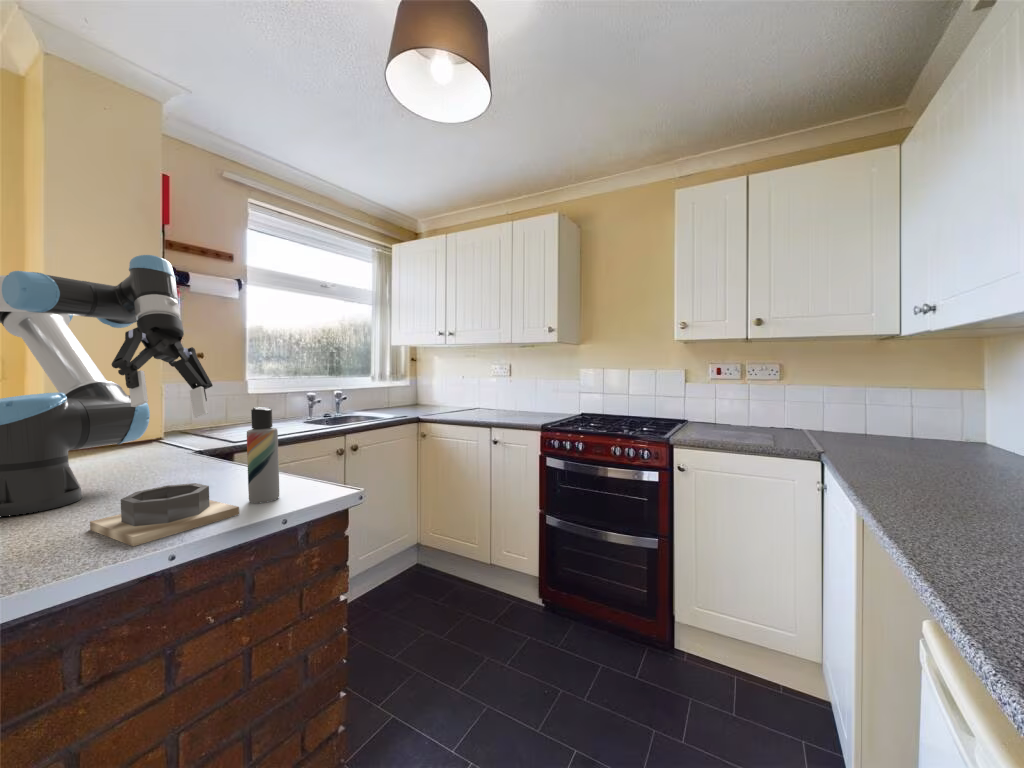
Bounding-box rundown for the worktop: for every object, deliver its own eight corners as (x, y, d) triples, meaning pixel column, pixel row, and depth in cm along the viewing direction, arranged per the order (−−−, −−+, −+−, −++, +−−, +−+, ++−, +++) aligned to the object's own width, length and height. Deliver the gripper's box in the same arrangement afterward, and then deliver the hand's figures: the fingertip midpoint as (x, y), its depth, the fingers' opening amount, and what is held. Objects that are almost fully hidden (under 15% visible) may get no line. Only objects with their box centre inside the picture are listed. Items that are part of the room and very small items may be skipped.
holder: (90, 529, 72) (88, 498, 72) (194, 503, 86) (193, 477, 86) (133, 546, 65) (131, 511, 65) (239, 514, 79) (238, 486, 79)
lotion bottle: (262, 495, 92) (259, 405, 91) (285, 495, 91) (282, 405, 90) (242, 503, 86) (239, 408, 85) (266, 504, 85) (263, 408, 85)
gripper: (115, 288, 77) (127, 390, 72) (221, 334, 101) (236, 413, 96) (79, 303, 77) (88, 406, 72) (193, 345, 101) (206, 425, 96)
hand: (172, 410), depth 84 cm, fingers open, 13 cm apart
